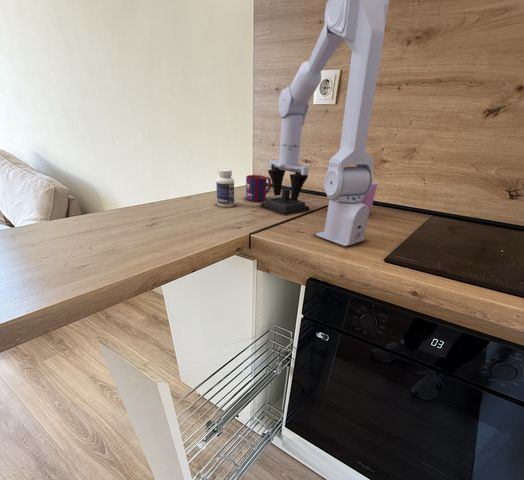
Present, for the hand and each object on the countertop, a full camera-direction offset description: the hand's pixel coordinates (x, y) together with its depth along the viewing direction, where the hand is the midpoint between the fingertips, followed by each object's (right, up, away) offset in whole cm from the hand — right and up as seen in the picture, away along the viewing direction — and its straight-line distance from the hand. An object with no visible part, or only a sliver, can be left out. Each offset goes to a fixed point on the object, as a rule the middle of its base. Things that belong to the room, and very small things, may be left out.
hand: (285, 197), depth 95 cm
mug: (-8, +5, +10) cm, 14 cm away
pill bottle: (-19, -2, +2) cm, 19 cm away
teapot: (+19, -4, +2) cm, 20 cm away
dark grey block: (0, -2, +1) cm, 2 cm away
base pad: (0, -2, +2) cm, 3 cm away
